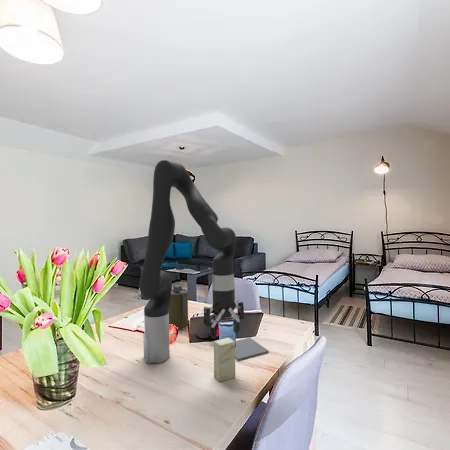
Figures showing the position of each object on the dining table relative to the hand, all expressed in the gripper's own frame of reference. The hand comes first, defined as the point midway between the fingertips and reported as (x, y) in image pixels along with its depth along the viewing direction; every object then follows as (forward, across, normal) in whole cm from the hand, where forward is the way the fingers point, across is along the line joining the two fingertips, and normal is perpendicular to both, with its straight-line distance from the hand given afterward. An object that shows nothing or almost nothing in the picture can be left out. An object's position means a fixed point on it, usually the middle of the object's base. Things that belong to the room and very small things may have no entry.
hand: (224, 334), depth 98 cm
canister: (+14, 0, -51) cm, 53 cm away
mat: (+14, -16, -14) cm, 26 cm away
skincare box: (+14, 0, 0) cm, 15 cm away
